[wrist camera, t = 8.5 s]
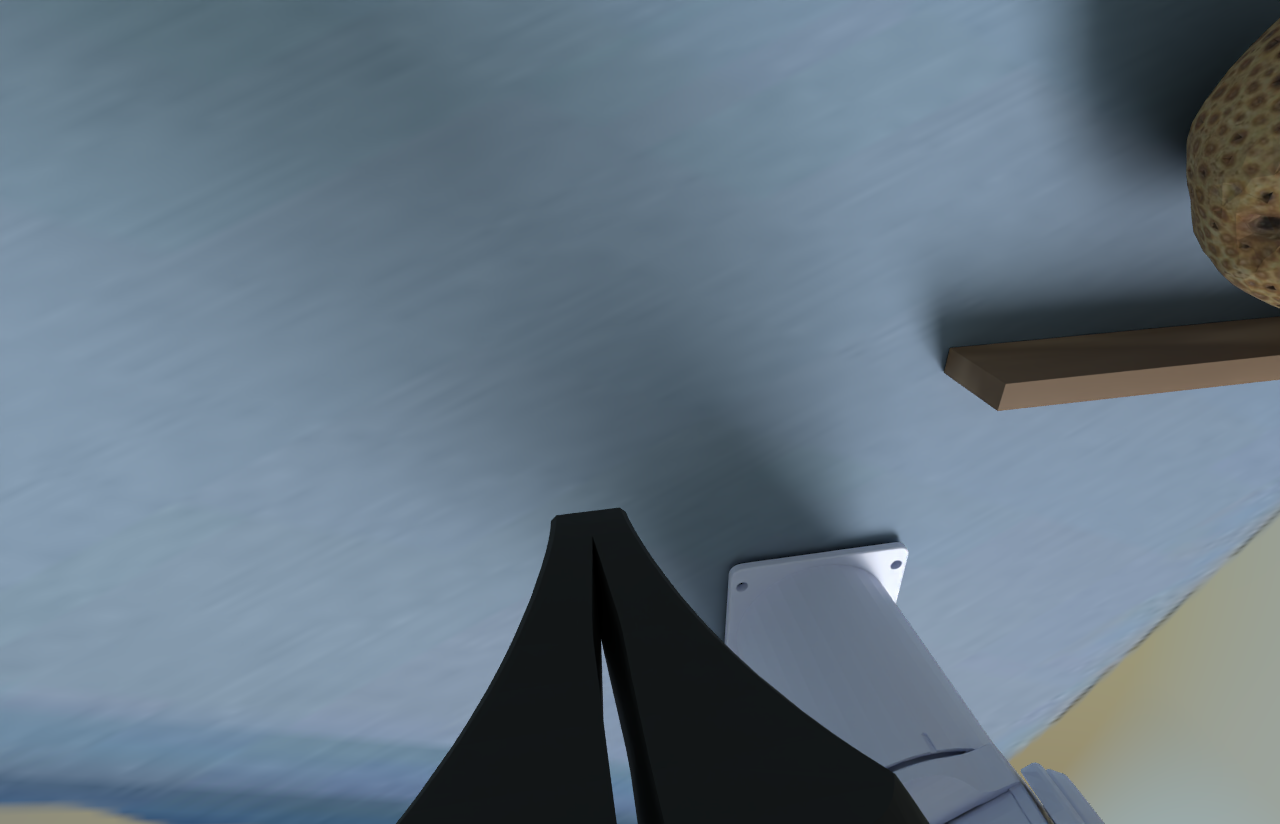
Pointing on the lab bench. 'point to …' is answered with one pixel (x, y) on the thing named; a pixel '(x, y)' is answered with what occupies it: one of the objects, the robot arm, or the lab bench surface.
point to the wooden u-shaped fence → (1118, 363)
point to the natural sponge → (1241, 171)
